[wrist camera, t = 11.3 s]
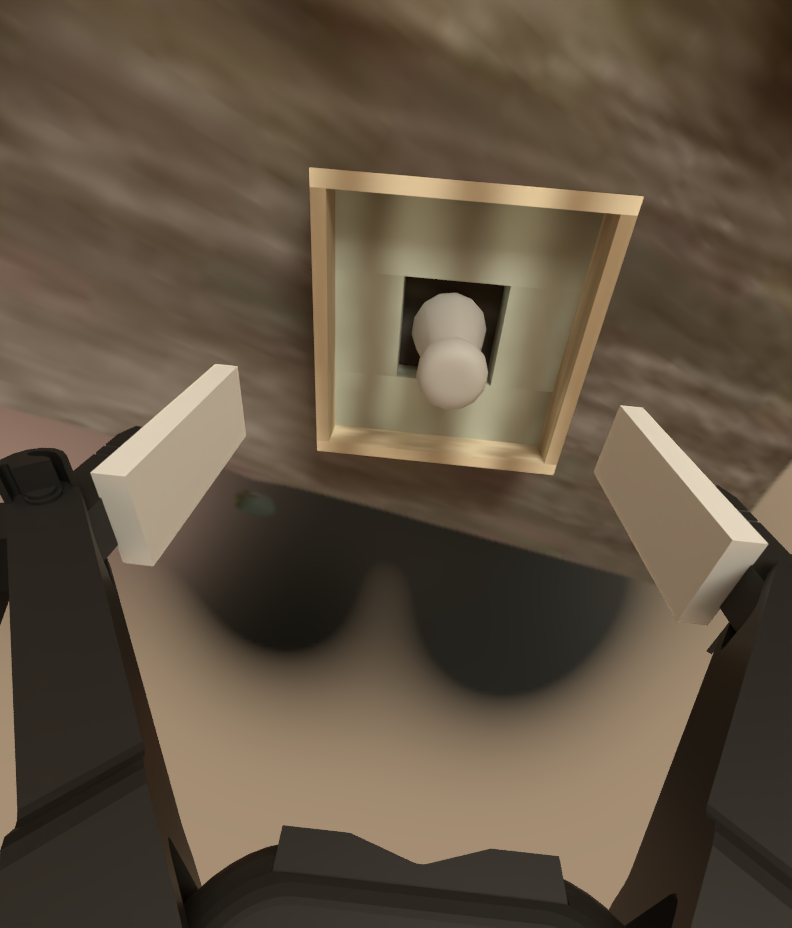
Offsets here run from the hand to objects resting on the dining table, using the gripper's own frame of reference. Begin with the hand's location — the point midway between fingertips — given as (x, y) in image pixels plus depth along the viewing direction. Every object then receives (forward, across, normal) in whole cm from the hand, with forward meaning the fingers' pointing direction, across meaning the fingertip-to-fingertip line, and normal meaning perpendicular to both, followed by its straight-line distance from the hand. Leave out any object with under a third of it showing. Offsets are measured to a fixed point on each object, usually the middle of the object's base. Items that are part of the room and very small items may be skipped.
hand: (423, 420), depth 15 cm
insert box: (+24, +2, -3) cm, 24 cm away
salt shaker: (+24, +2, -3) cm, 24 cm away
